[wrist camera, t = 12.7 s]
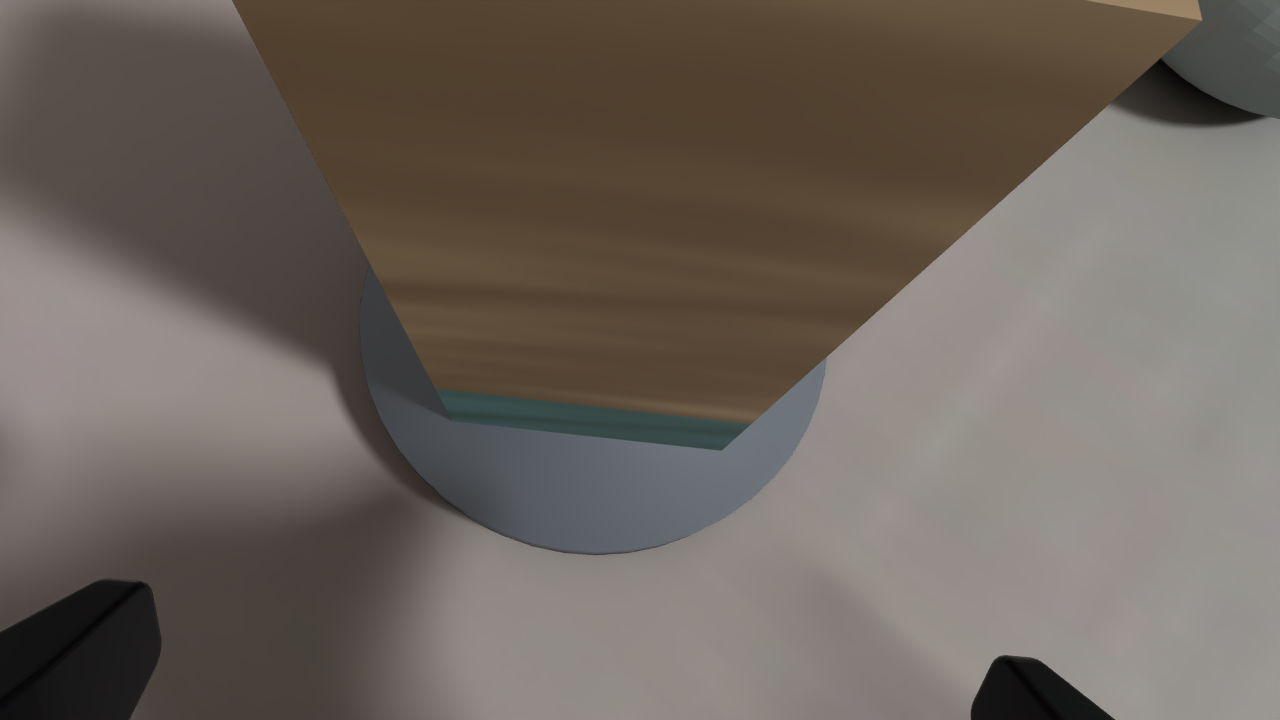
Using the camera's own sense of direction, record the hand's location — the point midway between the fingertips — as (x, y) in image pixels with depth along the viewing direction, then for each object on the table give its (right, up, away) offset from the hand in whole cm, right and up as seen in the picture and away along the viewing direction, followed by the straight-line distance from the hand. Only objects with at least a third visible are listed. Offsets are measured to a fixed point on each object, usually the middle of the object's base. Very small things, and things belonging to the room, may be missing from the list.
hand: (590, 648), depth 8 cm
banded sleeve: (0, +4, +9) cm, 10 cm away
